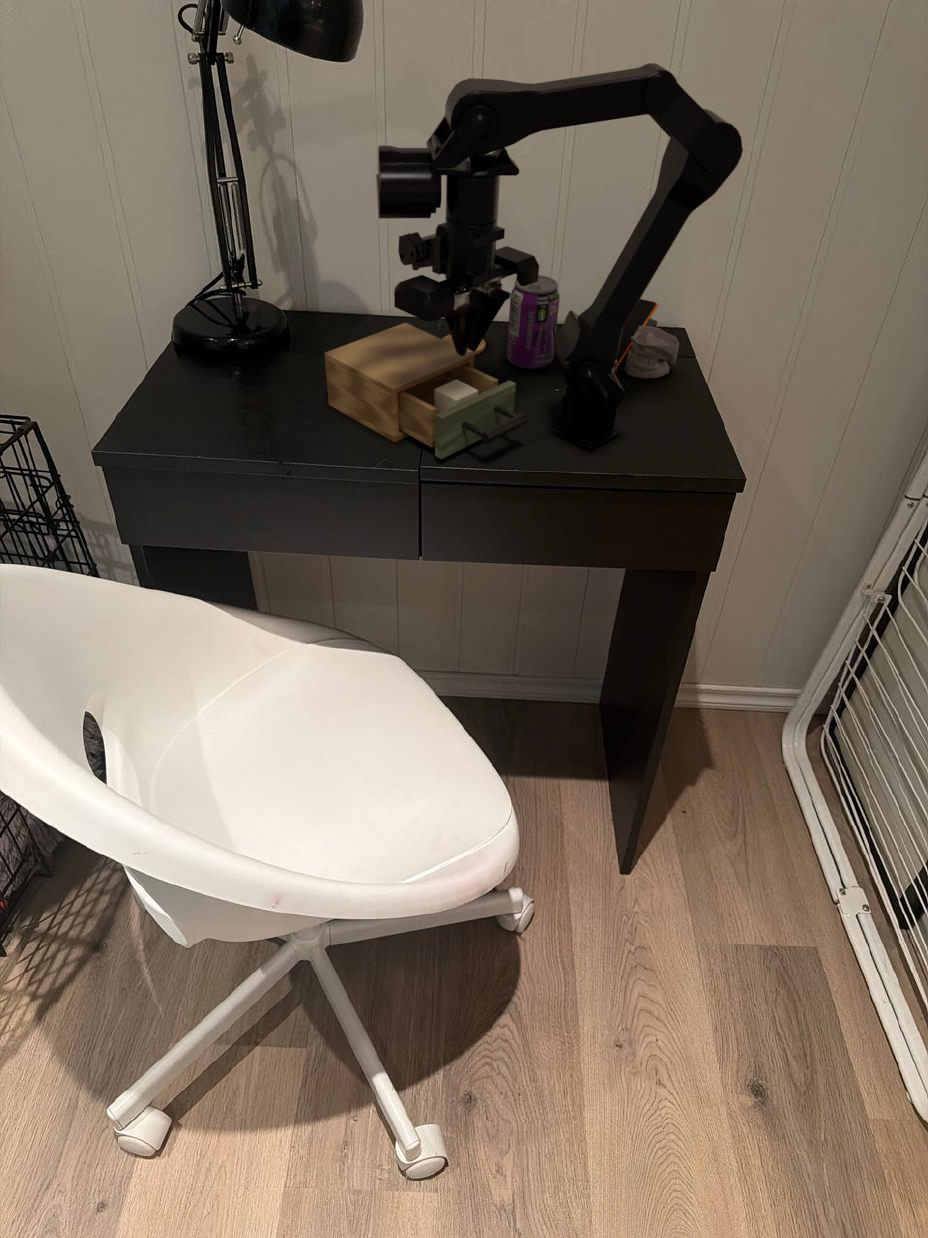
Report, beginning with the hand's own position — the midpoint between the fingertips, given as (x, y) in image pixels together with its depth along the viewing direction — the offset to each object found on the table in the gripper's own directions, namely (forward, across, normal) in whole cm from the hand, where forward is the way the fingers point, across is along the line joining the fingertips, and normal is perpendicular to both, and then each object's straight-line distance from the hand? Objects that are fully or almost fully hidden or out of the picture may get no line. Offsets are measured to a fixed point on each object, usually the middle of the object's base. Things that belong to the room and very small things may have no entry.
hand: (466, 352), depth 103 cm
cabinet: (+12, 0, -12) cm, 17 cm away
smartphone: (+10, -43, -4) cm, 44 cm away
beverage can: (+12, -24, -9) cm, 28 cm away
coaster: (+12, -20, -20) cm, 31 cm away
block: (+10, 0, -2) cm, 10 cm away
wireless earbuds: (+12, -42, -2) cm, 44 cm away
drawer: (+11, 0, -1) cm, 11 cm away
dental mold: (+7, -35, +5) cm, 36 cm away
